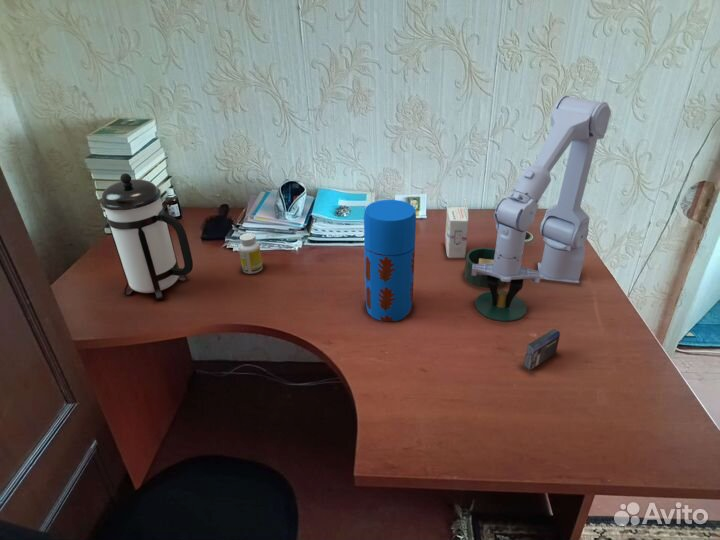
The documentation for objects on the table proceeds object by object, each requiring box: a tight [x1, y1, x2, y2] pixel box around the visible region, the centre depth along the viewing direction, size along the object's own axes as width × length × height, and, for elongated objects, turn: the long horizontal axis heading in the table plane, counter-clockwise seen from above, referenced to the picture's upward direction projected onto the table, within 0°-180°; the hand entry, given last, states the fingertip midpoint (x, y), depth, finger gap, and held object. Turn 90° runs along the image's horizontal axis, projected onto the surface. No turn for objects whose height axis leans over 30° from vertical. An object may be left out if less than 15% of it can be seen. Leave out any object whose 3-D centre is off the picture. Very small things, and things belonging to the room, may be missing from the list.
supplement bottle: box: [238, 232, 264, 275], centre depth 129 cm, size 5×5×10 cm
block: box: [479, 258, 494, 264], centre depth 124 cm, size 4×4×4 cm
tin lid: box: [474, 289, 528, 323], centre depth 113 cm, size 11×11×4 cm
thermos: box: [363, 199, 417, 322], centre depth 109 cm, size 11×11×25 cm
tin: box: [463, 247, 506, 289], centre depth 124 cm, size 10×10×6 cm
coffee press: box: [99, 172, 194, 302], centre depth 118 cm, size 17×16×30 cm
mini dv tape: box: [523, 328, 561, 371], centre depth 97 cm, size 8×2×6 cm, turn 126°
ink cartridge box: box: [444, 197, 469, 259], centre depth 133 cm, size 9×5×15 cm, turn 178°
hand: (500, 303), depth 113 cm, fingers closed on tin lid, 2 cm apart
